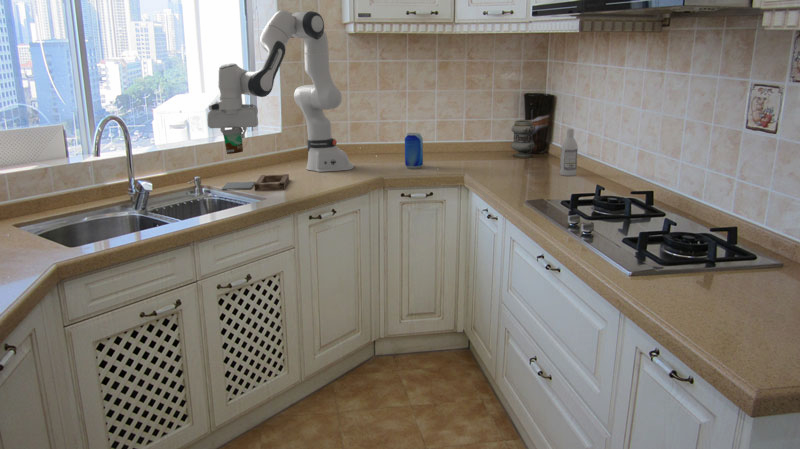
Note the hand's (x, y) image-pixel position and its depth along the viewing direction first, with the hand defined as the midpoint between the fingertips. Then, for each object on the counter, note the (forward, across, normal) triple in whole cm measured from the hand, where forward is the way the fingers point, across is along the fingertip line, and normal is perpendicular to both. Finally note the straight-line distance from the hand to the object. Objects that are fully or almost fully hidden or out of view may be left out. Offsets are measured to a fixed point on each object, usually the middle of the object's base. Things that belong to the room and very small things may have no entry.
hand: (234, 138), depth 267 cm
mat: (+20, 0, 0) cm, 21 cm away
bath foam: (+21, -142, -2) cm, 144 cm away
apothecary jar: (+21, -134, -48) cm, 144 cm away
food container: (+6, -1, 0) cm, 6 cm away
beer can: (+21, -77, -29) cm, 85 cm away
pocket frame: (+20, -14, -1) cm, 25 cm away
